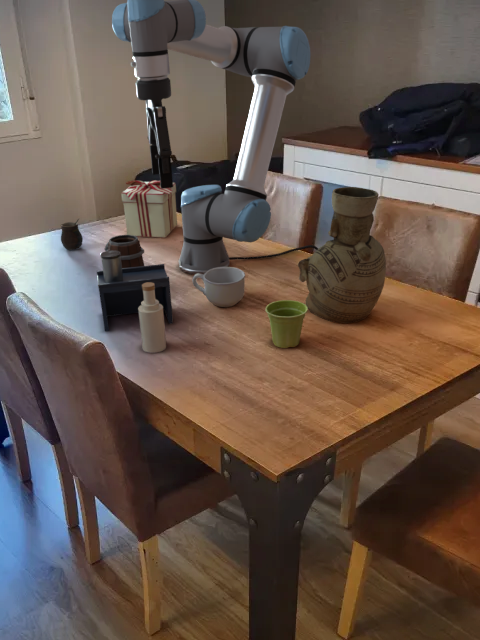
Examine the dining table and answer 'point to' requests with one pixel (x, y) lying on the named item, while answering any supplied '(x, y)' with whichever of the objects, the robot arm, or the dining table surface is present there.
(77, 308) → the dining table surface
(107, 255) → the spice tin
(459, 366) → the dining table surface
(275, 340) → the plant pot
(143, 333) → the oil bottle
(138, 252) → the mug
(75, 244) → the mate gourd
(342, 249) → the ceramic vessel
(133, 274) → the blue channel bracket
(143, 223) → the gift box
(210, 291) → the teacup
